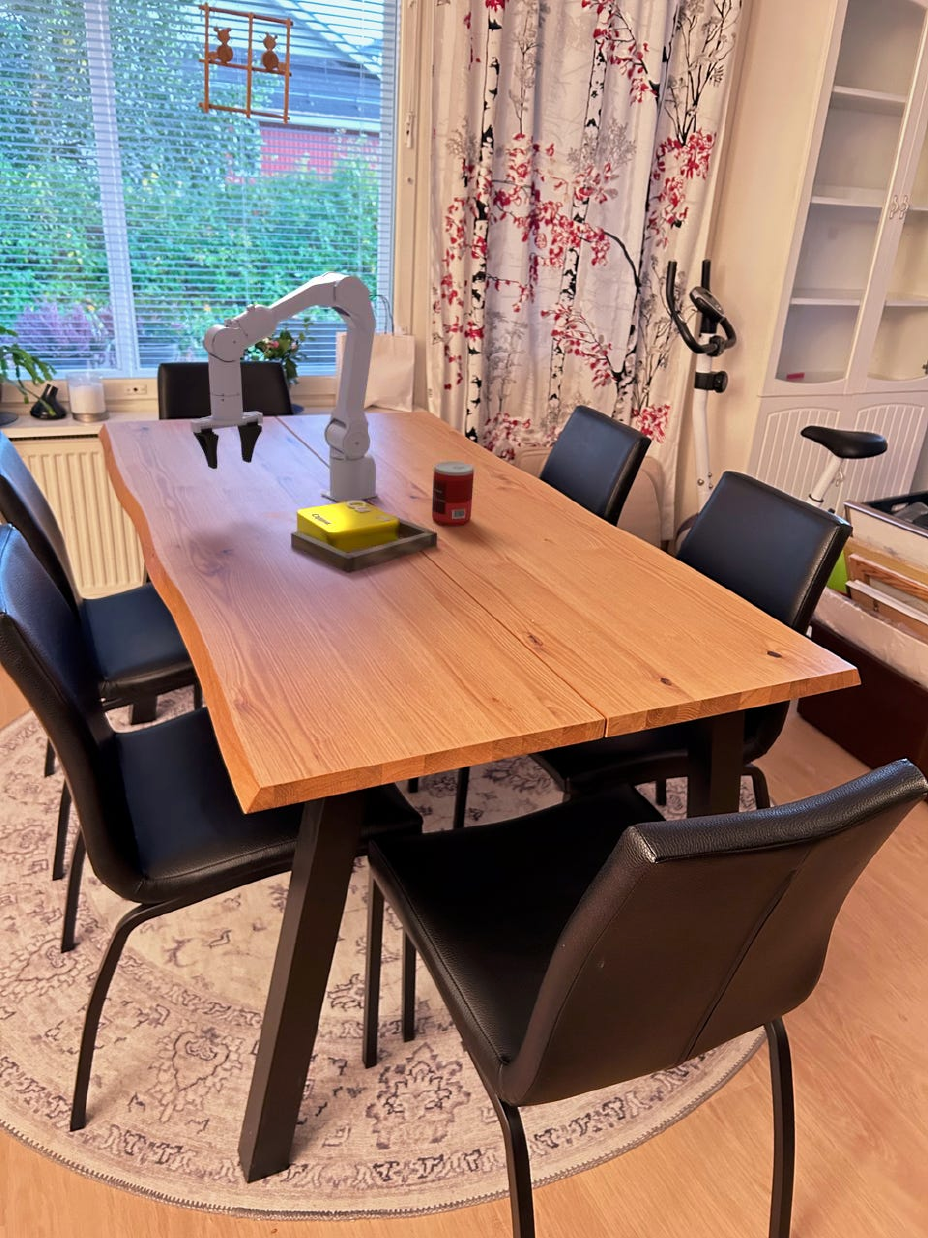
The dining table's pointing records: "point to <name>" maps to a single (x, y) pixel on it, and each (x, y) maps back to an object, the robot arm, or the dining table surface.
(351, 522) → the element tile
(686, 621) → the dining table surface
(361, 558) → the walnut holder
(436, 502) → the canned food
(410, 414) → the dining table surface
